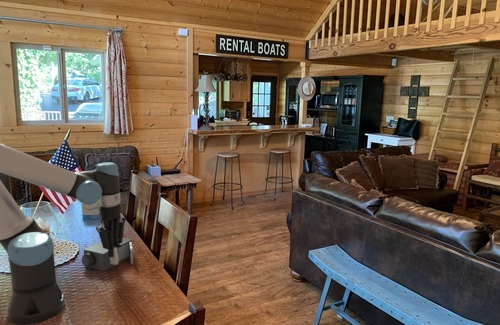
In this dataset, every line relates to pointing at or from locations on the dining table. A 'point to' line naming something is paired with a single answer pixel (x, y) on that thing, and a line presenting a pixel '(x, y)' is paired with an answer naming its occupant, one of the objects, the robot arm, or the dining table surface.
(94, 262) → the camera body
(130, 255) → the side door
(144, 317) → the dining table surface
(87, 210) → the ink box
